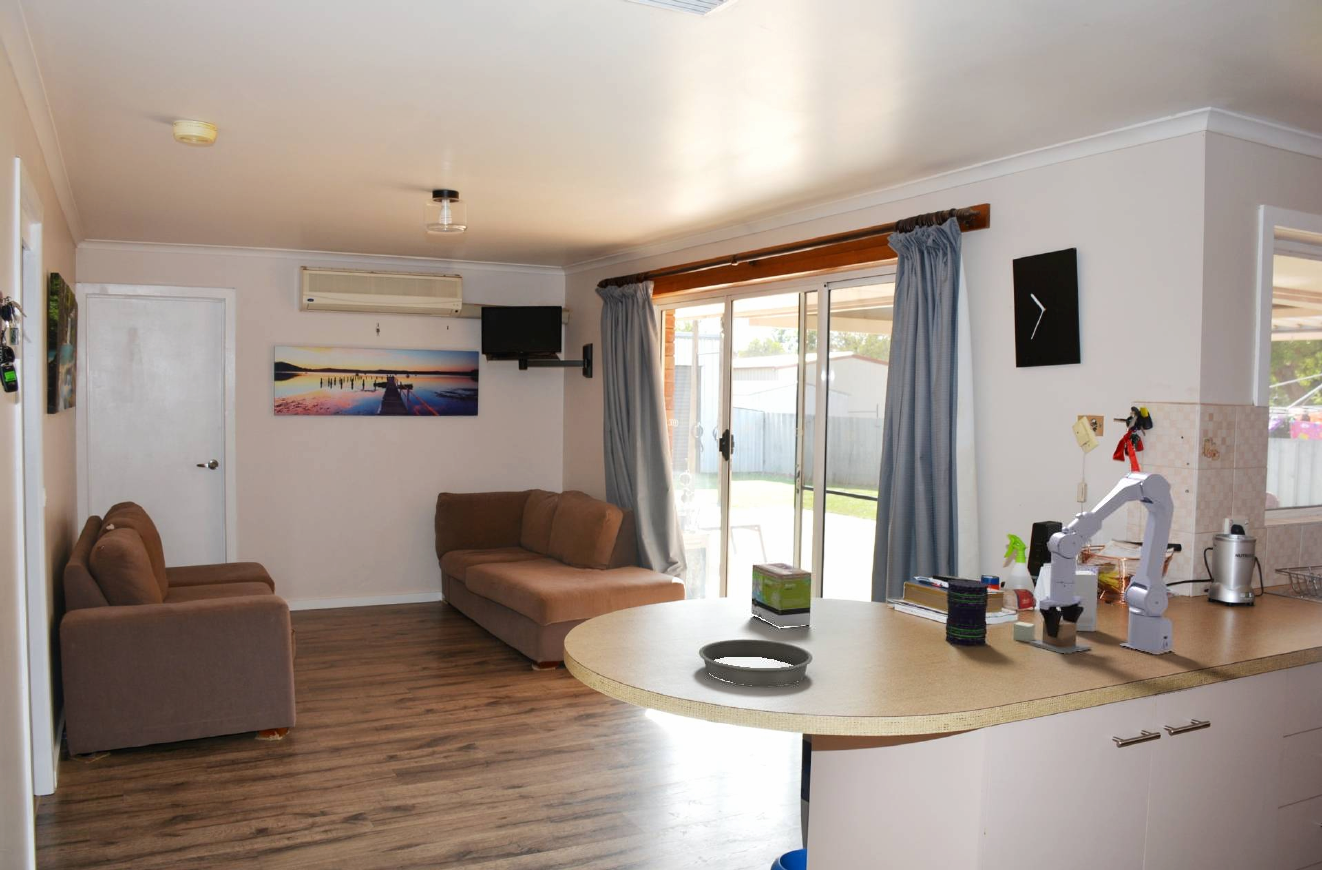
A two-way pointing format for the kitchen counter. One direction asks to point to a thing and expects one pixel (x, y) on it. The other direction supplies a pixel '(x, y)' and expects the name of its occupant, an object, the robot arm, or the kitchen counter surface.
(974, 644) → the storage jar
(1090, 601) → the skincare box
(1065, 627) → the walnut block
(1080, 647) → the coaster
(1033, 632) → the sage block
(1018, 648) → the kitchen counter surface
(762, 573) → the tea box
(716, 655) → the cake pan
